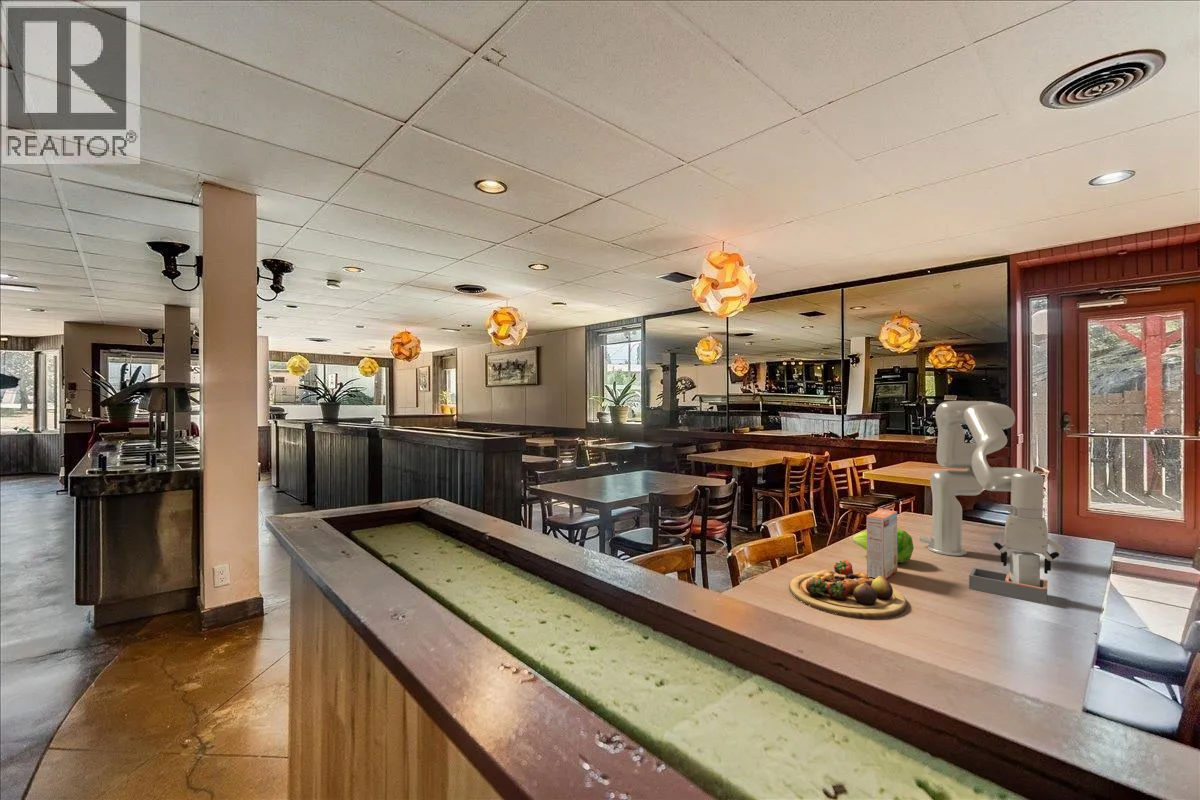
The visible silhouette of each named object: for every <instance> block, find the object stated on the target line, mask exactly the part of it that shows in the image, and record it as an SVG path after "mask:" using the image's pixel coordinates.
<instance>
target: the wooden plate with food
mask: <svg viewBox="0 0 1200 800" xmlns="http://www.w3.org/2000/svg"><path fill="white" fill-rule="evenodd" d="M833 568H834V570H829V569H822V570H819V571H817V572H816V571H815V572H808V573H803V574H800V575H797V576H795V577H794V578H792V580H791V581H790V583H789V585H788V590H789V592H790V594H791V593H792V594H793V595H794V596H795V597H796V598H797V599H799V600H800V601H802V602H804V603H805V605H806V604H807V605H806V606H808V605H810V606H812V607H811V608H813V607H814V608H813V609H815V608H816V609H815V610H818V609H819V610H818V611H821V610H822V611H821V612H824V611H826V612H825V613H828V612H831V613H830V614H832V613H836V614H840V615H839V616H841V615H844V616H843V617H846V616H849V617H848V618H853V617H855V619H865V618H868V620H872V619H873V620H874V619H876V618H880V619H886V618H885V617H888V618H892V617H891V616H893V617H895V615H896V616H897V614H898V615H901V614H902V613H903V612H904V610H906V608H907V600H906V598H905V595H904V594H903V593H902V592H900V591H899V590H898V589H897V588H895V587H894V586H892V585H891V583H890V582H889V581H888V579H887V580H886V579H885V578H883V577H881V576H878V577H877V578H875V579H873V578H869V577H868V575H867V573H864V572H856V573H854V571H853V566H852V563H851V562H850V561H848V559H842V560H839V562H835V564H834V567H833ZM792 594H791V595H792ZM793 595H792V596H793ZM794 596H793V597H794ZM795 597H794V598H795ZM796 598H795V599H796ZM797 599H796V600H797ZM799 600H798V601H799ZM800 601H799V602H800ZM802 602H801V603H802ZM804 603H803V604H804ZM810 606H809V607H810ZM836 614H835V615H836Z"/></svg>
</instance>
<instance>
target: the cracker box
mask: <svg viewBox="0 0 1200 800" xmlns="http://www.w3.org/2000/svg"><path fill="white" fill-rule="evenodd" d="M865 518H866V531H867V550H866V575H868V576H869V577H873V578H877V577H878V576H881V577H883V578H885V579H887V578H888V577H889V578H890V577H892V576H893V575H894V574H895V573H896V572H897V571H898V562H897V529H898V511H895V510H889V509H883V508H881V509H880V508H879V509H878V510H876V511H874V512H872V513H870V514H868V515H866V517H865ZM893 573H894V574H893ZM892 574H893V575H892ZM873 578H872V579H873ZM889 578H888V579H889ZM888 579H887V580H888Z"/></svg>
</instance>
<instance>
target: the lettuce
mask: <svg viewBox="0 0 1200 800" xmlns="http://www.w3.org/2000/svg"><path fill="white" fill-rule="evenodd" d="M852 542H853V543H854V544H856V545H858V546H859V547H861V548H862V549H863V550H865V551H867V530H864V531H861V532H858V533H856V534H855V535H853V536H852ZM914 548H915V547H914V542H913V537H912V536H911V535H910V534H909V533H908V531H906V530H903V529H899V528H897V563H900V564H901V563H906V561H908V560H910V559H911V558H912V554H913V551H914Z"/></svg>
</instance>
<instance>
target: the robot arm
mask: <svg viewBox="0 0 1200 800" xmlns="http://www.w3.org/2000/svg"><path fill="white" fill-rule="evenodd" d="M934 415H935V423H936V427H937V431H938V432H937V444H936V445H937V446H936V461H937V464H938V465H940V466H941V467H943V468H956V469H957V468H958V470H956V469H955V470H954V469H941V470H936V471H935V472H932V473H931V474H930V476H929V485H930V488H931V494H932V495H931V497H932V536H931V537H930V536H929V537H925V536H920V537H919V542H922V543H924V544H928V545H927V550H929V551H931V552H933V553H937V554H940V555H944V556H945V555H946V556H956V557H959V556H960V557H961V556H966V555H967V553H968V551H967V550H966V549H965V548H963V547H962V546H963V544H962V543H963V506H962V505H961V503H960V501H959V500H958V498H956V496H978V495H980V494H982V492H983V490H984V489H985V490H986V491H988V492H989V491H990V492H1010V505H1009V506H1004V511H1005V512H1009V514H1008V515H1007V516H1006V519H1005V524H1004V532H1000V533H995V534H993V535H990V536H989V538H990V540H991V542H992V543H993V546H994V547H995V549H997V550H998V551H999V553H1000V562H1001V563H1003V564H1002V565H1003V567H1007V564H1008V552H1007V551H1008V550H1009V549H1011V550H1014V551H1026V552H1032V553H1035V554H1037V555H1039V554H1040V555H1042V556H1043V557H1044V565H1043V567H1044V568H1043V569H1044V571H1043V572H1044V574H1047V575H1048V573H1049V572H1048V571H1050V572H1051V569H1052V561H1053V560H1055V559H1056V558H1058V557H1059V556H1060V555H1061V554H1062V553H1063V551H1064V549H1065V547H1064V546H1062V545H1061V544H1059V543H1057V542H1055V541H1054V540H1051V539H1049V538H1048V537H1049V536H1048V533H1049V532H1048V525H1047V521H1046V519H1045V518H1043V517H1044V515H1043V514H1044V513H1043V512H1044V511H1043V510H1044V508H1043V507H1044V477H1043V476H1042V474H1040V473H1038V472H1034V471H1033V472H1032V471H1030V470H1028V469H1026V468H1022V467H1001V466H1000V467H998V466H997V467H996V466H991V465H989V462H988V461H987V455H990V454H993V453H994V452H998V451H1000V450H1001V449H1003V448H1004V447H1005V446H1006V445H1007V443H1008V438H1007V436H1006V434H1005V432H1004V430H1003V429H1009V428H1012V427H1013V426H1014V424H1015V421H1016V416H1015V412H1014V411H1013V409H1012V408H1011V407H1009V405H1006V404H1002V403H997V402H993V401H986V400H981V401H980V400H979V401H977V400H968V401H967V400H950V401H949V400H948V401H943V402H941V403H940V404H939V405H938V406H937V407H936V409H935V414H934ZM962 424H966V425H967V427H968V429H969V431H970V433H971V436H972V438H973V440H974V441H975V443H973V442H970V443H969V442H965V434H966V433H965V430H964V428H963V427H962ZM959 468H960V469H964V468H965V470H959ZM1002 538H1003V540H1004V541H1003V544H1004V545H1002V544H1001V543H999V541H998V539H1002ZM1049 546H1050V547H1053V548H1054V549H1055V551H1053V552H1051V553H1050V552H1049V550H1048V549H1049Z"/></svg>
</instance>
